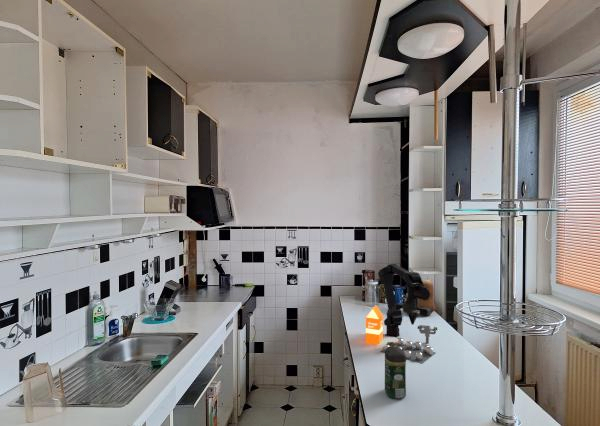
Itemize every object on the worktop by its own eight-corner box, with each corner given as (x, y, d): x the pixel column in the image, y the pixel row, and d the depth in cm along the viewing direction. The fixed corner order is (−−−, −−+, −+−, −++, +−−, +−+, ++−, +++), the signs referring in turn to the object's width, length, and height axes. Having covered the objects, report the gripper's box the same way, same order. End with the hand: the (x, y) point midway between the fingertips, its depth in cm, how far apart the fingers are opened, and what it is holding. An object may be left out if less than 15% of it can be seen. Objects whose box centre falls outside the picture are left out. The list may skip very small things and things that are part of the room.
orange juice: (382, 340, 216) (383, 305, 216) (379, 345, 208) (379, 309, 208) (369, 338, 220) (369, 303, 219) (365, 343, 212) (365, 307, 211)
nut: (385, 348, 202) (385, 344, 202) (388, 345, 206) (388, 341, 206) (393, 350, 200) (393, 345, 200) (396, 347, 204) (396, 342, 204)
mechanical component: (437, 345, 208) (437, 327, 208) (417, 344, 210) (418, 326, 210) (436, 343, 211) (436, 326, 211) (417, 342, 213) (417, 324, 213)
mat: (379, 352, 198) (379, 351, 198) (395, 343, 212) (395, 342, 212) (422, 365, 183) (422, 363, 183) (436, 353, 197) (436, 352, 197)
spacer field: (382, 352, 198) (382, 345, 198) (398, 342, 211) (398, 336, 211) (422, 363, 184) (422, 356, 183) (436, 352, 197) (436, 346, 197)
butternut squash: (418, 311, 274) (419, 276, 274) (437, 314, 267) (438, 278, 266) (412, 315, 263) (412, 279, 262) (431, 319, 255) (432, 282, 255)
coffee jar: (382, 388, 161) (382, 344, 160) (401, 388, 161) (401, 344, 160) (388, 400, 151) (388, 353, 150) (408, 400, 151) (408, 353, 151)
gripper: (390, 295, 207) (389, 324, 207) (423, 301, 195) (423, 331, 195) (399, 292, 215) (399, 319, 216) (431, 297, 203) (431, 326, 204)
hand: (412, 324), depth 207 cm, fingers closed
